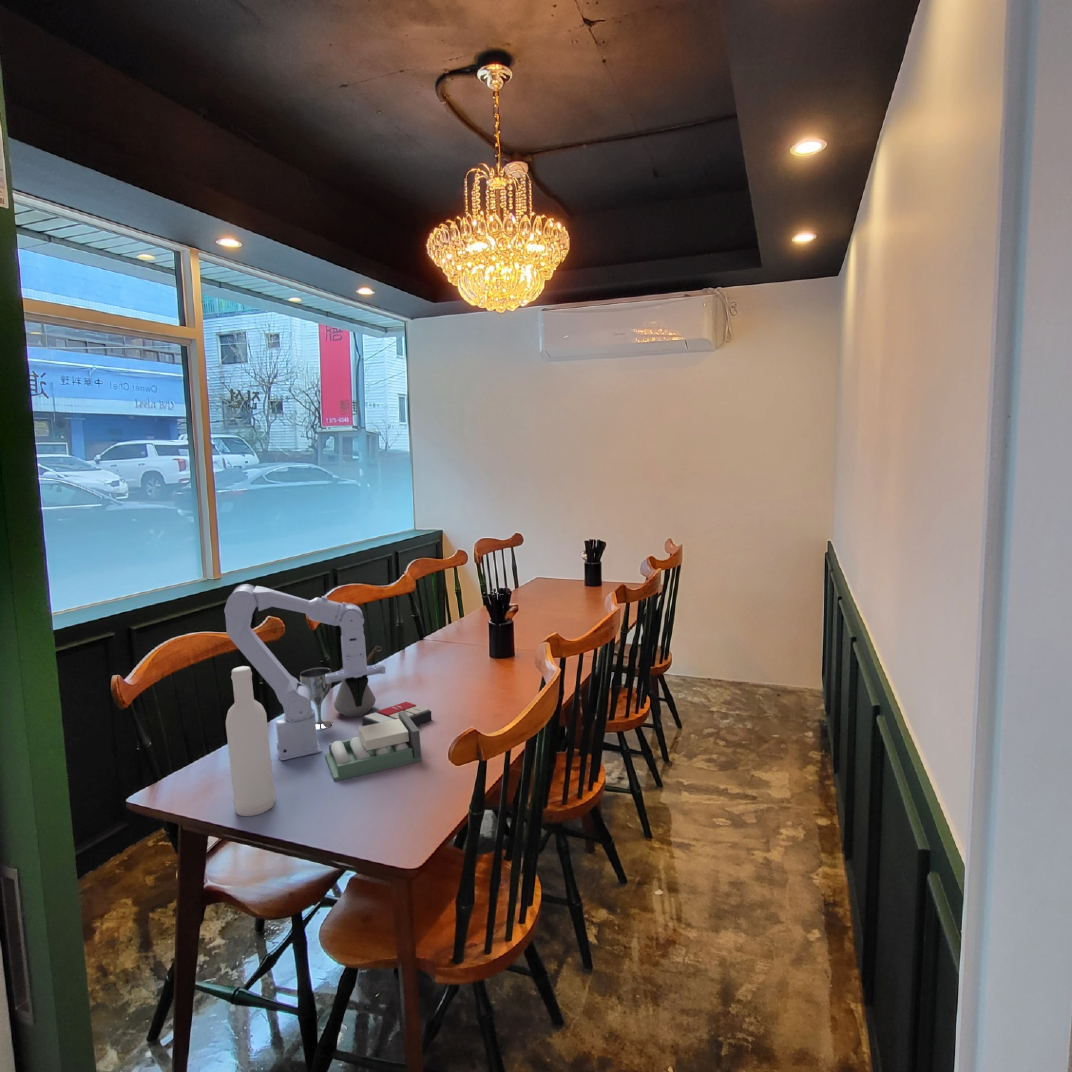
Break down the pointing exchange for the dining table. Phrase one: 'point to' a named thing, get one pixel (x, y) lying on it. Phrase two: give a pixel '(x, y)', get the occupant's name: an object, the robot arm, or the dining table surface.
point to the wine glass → (317, 690)
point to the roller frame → (373, 754)
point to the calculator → (391, 713)
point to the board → (383, 734)
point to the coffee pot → (346, 700)
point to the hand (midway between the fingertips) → (358, 705)
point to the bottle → (249, 748)
